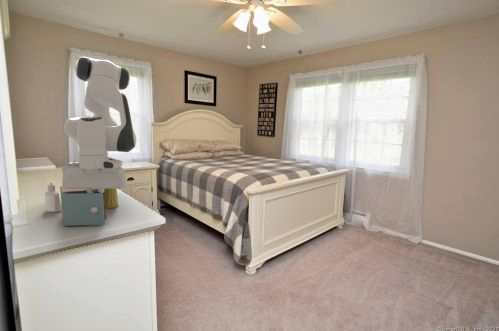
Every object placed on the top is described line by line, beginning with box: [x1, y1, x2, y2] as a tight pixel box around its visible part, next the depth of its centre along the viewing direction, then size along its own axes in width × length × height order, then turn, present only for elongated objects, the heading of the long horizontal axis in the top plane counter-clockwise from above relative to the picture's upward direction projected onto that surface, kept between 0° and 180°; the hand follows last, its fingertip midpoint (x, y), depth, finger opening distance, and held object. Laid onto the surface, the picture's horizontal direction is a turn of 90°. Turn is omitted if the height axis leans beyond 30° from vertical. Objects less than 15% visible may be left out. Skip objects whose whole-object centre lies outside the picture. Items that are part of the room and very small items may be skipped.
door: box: [60, 193, 105, 227], centre depth 91 cm, size 2×13×11 cm, turn 99°
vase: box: [105, 189, 119, 210], centre depth 114 cm, size 6×6×14 cm
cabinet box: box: [59, 185, 107, 220], centre depth 100 cm, size 12×13×12 cm
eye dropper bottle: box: [44, 181, 61, 213], centre depth 107 cm, size 4×6×12 cm
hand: (96, 200), depth 95 cm, fingers closed
